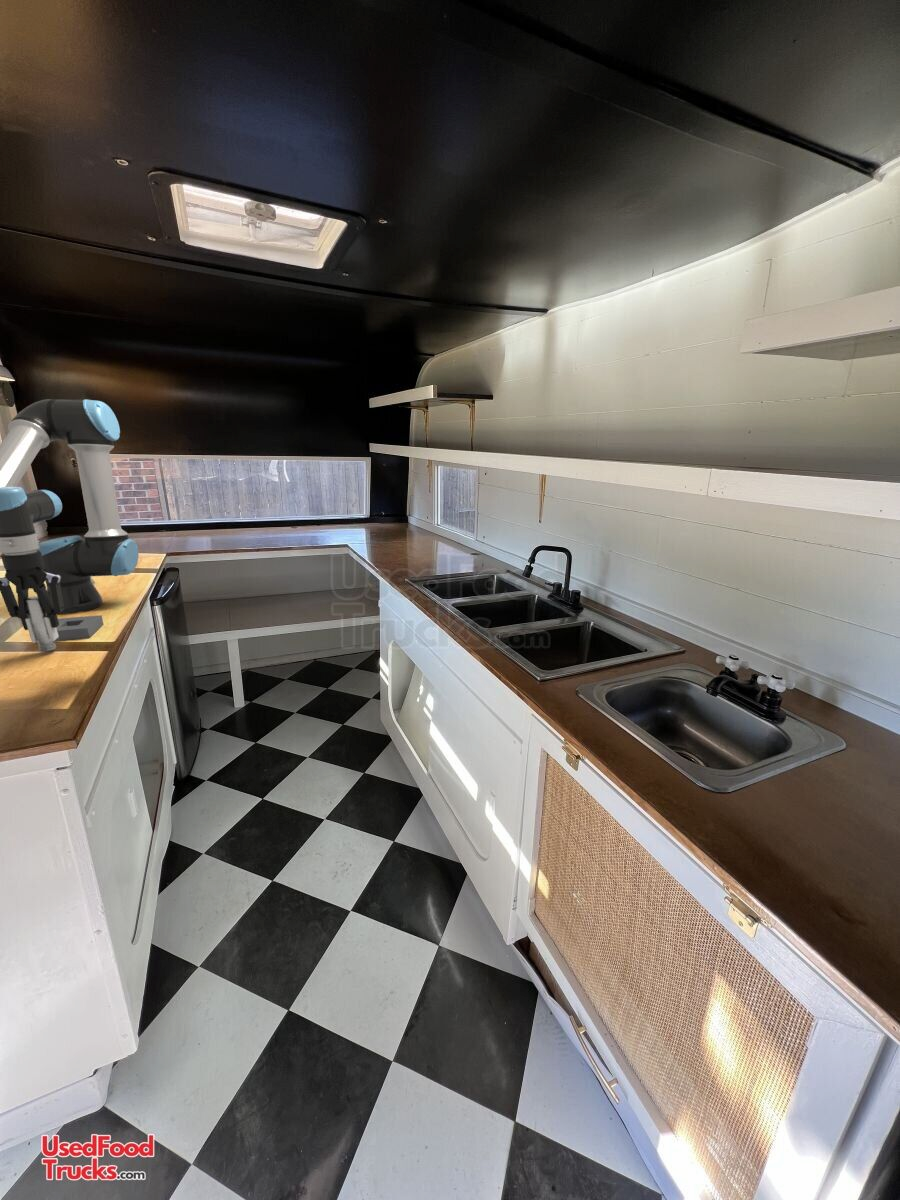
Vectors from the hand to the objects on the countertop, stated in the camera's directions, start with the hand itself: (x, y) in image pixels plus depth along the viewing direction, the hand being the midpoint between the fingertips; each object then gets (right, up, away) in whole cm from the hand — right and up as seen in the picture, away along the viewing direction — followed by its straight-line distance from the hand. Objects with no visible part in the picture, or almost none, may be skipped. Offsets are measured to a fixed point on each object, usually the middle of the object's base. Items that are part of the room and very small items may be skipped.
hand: (45, 639), depth 126 cm
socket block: (-3, +1, +14) cm, 14 cm away
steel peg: (0, -2, +1) cm, 3 cm away
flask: (-36, +16, +60) cm, 72 cm away
